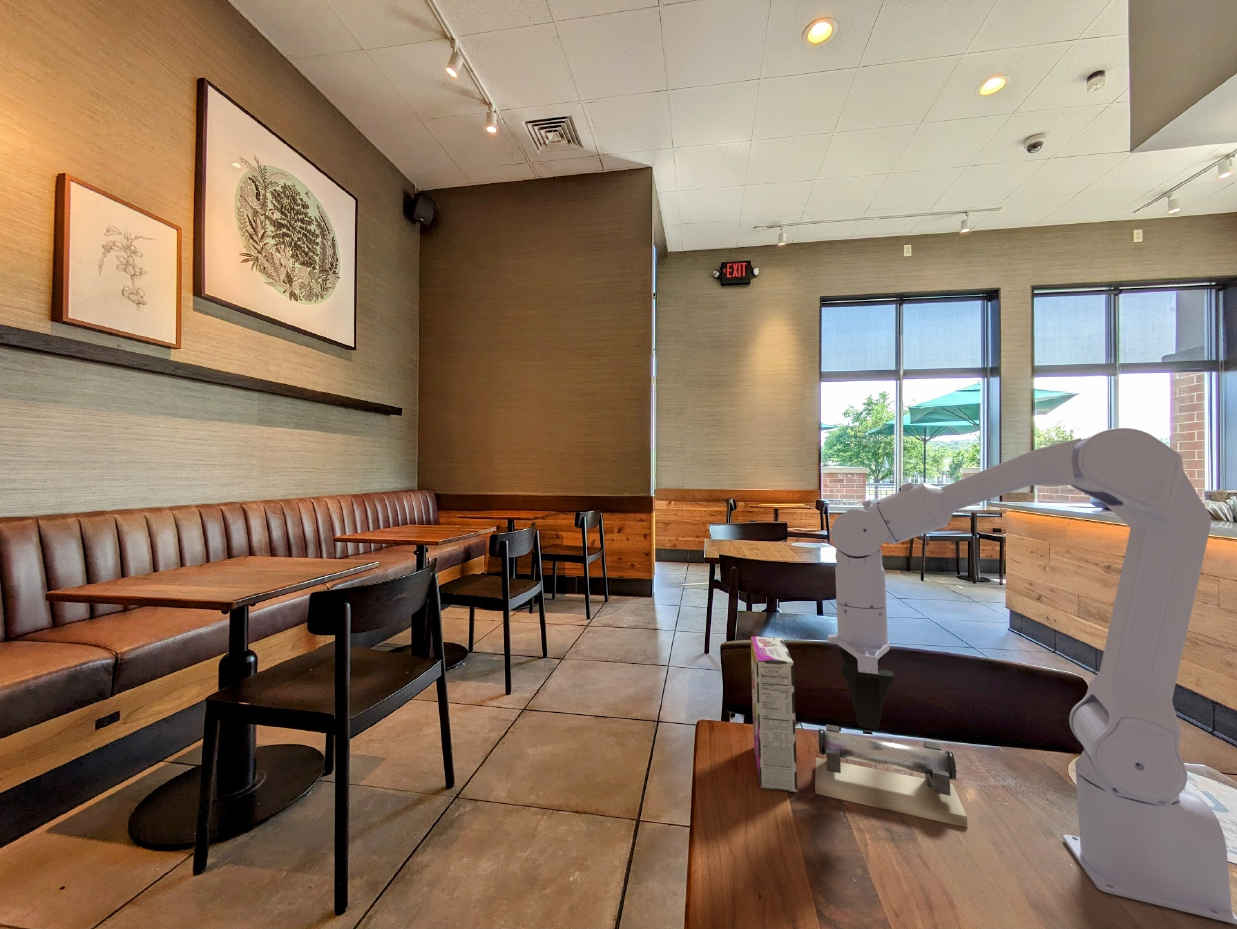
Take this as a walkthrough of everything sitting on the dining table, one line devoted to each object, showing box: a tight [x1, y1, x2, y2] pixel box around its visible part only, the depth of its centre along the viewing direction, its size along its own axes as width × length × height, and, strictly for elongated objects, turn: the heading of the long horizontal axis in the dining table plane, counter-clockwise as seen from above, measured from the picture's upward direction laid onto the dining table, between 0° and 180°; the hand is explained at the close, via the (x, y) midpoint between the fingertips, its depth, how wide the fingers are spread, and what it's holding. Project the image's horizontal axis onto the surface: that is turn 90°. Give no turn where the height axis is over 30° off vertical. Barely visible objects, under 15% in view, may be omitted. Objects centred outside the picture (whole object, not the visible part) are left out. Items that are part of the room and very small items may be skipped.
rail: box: [818, 728, 957, 781], centre depth 61 cm, size 15×3×3 cm, turn 67°
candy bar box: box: [750, 635, 799, 793], centre depth 67 cm, size 11×5×16 cm, turn 168°
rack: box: [814, 724, 968, 829], centre depth 61 cm, size 16×7×6 cm, turn 67°
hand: (865, 713), depth 61 cm, fingers open, 7 cm apart
